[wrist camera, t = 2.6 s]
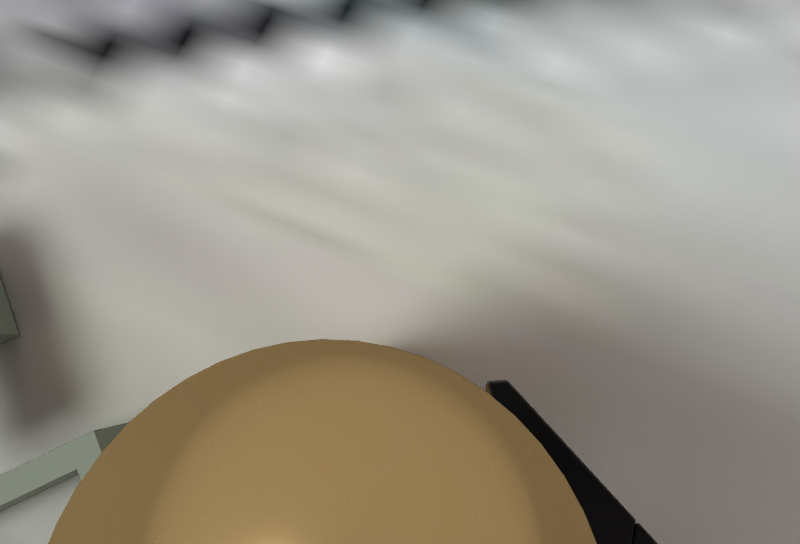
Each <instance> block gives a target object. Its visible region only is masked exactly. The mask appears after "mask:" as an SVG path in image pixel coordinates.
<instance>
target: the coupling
mask: <svg viewBox="0 0 800 544" xmlns="http://www.w3.org/2000/svg"><path fill="white" fill-rule="evenodd" d="M48 544H597V543H596V540H595V538H594V535H593V533H592V531H591V528H590V526H589V523H588V521H587V518H586V516H585V513H584V511H583V509H582V507H581V505H580V504H579V502H578V500H577V498H576V496H575V495H574V493H573V491H572V489H571V487H570V485H569V484H568V482H567V480H566V478H565V476H564V475H563V474H562V472H561V471H560V469H559V468H558V467H557V465H556V464H555V462H554V461H553V460H552V458H551V457H550V455H549V454H548V453H547V451H546V450H545V448H544V447H543V446H542V444H541V443H540V442H539V441H538V440H537V439H536V438H535V437H534V436H533V435H532V434H531V432H530V431H529V430H528V429H527V428H526V427H525V426H524V425H523V424H522V423H521V422H520V421H519V419H518V418H517V417H516V416H515V415H513V414H512V413H511V412H510V411H509V410H507V409H506V408H505V407H504V406H503V405H502V404H500V403H499V402H498V401H497V400H496V399H494V398H493V397H492V396H491V395H490V394H488V393H487V392H486V391H484V390H483V389H481V388H479V387H478V386H476V385H475V384H473V383H472V382H470V381H469V380H467V379H465V378H464V377H462V376H461V375H459V374H458V373H456V372H454V371H452V370H450V369H447V368H445V367H443V366H441V365H439V364H437V363H435V362H433V361H431V360H428V359H426V358H424V357H421V356H418V355H415V354H411V353H408V352H405V351H402V350H399V349H396V348H393V347H388V346H383V345H377V344H372V343H366V342H360V341H349V340H326V339H320V340H309V341H297V342H287V343H282V344H278V345H273V346H269V347H264V348H259V349H255V350H251V351H249V352H246V353H243V354H240V355H238V356H235V357H232V358H229V359H226V360H224V361H221V362H218V363H216V364H215V365H213V366H211V367H209V368H207V369H205V370H203V371H201V372H199V373H197V374H195V375H193V376H191V377H189V378H187V379H186V380H184V381H183V382H181V383H180V384H178V385H177V386H175V387H174V388H172V389H171V390H169V391H168V392H166V393H165V394H163V395H162V396H160V397H159V398H157V399H156V400H155V401H154V402H152V403H151V404H150V405H149V406H148V407H147V408H146V409H144V410H143V411H142V412H141V413H140V414H139V415H138V416H136V417H135V418H134V419H133V420H132V421H131V422H129V423H128V424H127V425H126V426H125V427H124V429H123V430H122V431H121V432H120V433H119V434H118V435H117V436H116V437H115V438H114V440H113V441H112V442H111V443H110V444H109V445H108V446H107V447H106V448H105V449H104V451H103V452H102V453H101V454H100V455H99V457H98V458H97V459H96V461H95V462H94V464H93V465H92V466H91V468H90V469H89V471H88V472H87V473H86V475H85V476H84V478H83V479H82V480H81V482H80V483H79V485H78V486H77V488H76V489H75V491H74V493H73V495H72V497H71V498H70V500H69V502H68V504H67V506H66V507H65V509H64V511H63V513H62V515H61V516H60V518H59V520H58V522H57V524H56V526H55V529H54V531H53V534H52V536H51V538H50V541H49V543H48Z"/></svg>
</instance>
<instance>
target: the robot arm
mask: <svg viewBox="0 0 800 544" xmlns="http://www.w3.org/2000/svg"><path fill="white" fill-rule="evenodd" d="M486 392H487V393H488V394H490V395H491V396H492V397H493V398H494V399H496V400H497V401H498V402H499V403H500V404H502V405H503V406H504V407H505V408H506V409H507V410H509V411H510V412H511V413H512V414H513V415H515V416H516V417H517V418H518V419H519V421H520V422H521V423H522V424H523V425H524V426H525V427H526V428H527V429H528V430H529V431H530V432H531V434H532V435H533V436H534V437H535V438H536V439H537V440H538V441H539V442H540V443H541V444H542V446H543V447H544V448H545V450H546V451H547V453H548V454H549V455H550V457H551V458H552V460H553V461H554V462H555V464H556V465H557V467H558V468H559V469H560V471H561V472H562V474H563V475H564V476H565V478H566V480H567V482H568V484H569V485H570V487H571V489H572V491H573V493H574V495H575V496H576V498H577V500H578V502H579V504H580V505H581V507H582V509H583V511H584V513H585V516H586V518H587V521H588V523H589V526H590V528H591V531H592V533H593V535H594V538H595V540H596V543H597V544H658V543H657V542H656V541H655V540H654V539H653V538H652V537H651V536H650V535H649V534H648V532H647V531H646V530H645V529H644V528H643V527H642V526H641V525H640V524H639V523H636V520H635V519H634V517H633V516H632V515H631V514H630V513H629V512H628V511H627V510H626V509H625V508H624V507H623V505H622V504H621V503H620V502H619V501H618V500H617V499H616V498H615V497H614V496H613V495H612V494H611V492H610V491H609V490H608V489H607V488H606V487H605V486H604V485H603V484H602V483H601V482H600V480H599V479H598V478H597V477H596V476H595V475H594V474H593V473H592V472H591V471H590V470H589V469H588V467H587V466H586V465H585V464H584V463H583V462H582V461H581V460H580V459H579V458H578V457H577V455H576V454H575V453H574V452H573V451H572V450H571V449H570V448H569V447H568V446H567V445H566V444H565V442H564V441H563V440H562V439H561V438H560V437H559V436H558V435H557V434H556V433H555V432H554V431H553V429H552V428H551V427H550V426H549V425H548V424H547V423H546V422H545V421H544V420H543V419H542V417H541V416H540V415H539V414H538V413H537V412H536V411H535V410H534V409H533V408H532V407H531V406H530V404H529V403H528V402H527V401H526V400H525V399H524V398H523V397H522V396H521V395H520V394H519V392H518V391H517V390H516V389H515V388H514V387H513V386H512V385H511V384H510V383H509V382H508V381H506V380H496V381H489V382H487V384H486ZM635 523H636V524H635Z"/></svg>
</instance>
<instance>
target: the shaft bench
mask: <svg viewBox="0 0 800 544" xmlns="http://www.w3.org/2000/svg"><path fill="white" fill-rule="evenodd" d="M18 335H19V332H18V329H17V326H16V323H15V320H14V317H13V314H12V311H11V308H10V305H9V301H8V298H7V295H6V292H5V289H4V286H3V283H2V280H1V277H0V343H3V342H5V341H7V340H9V339H11V338H14V337H16V336H18ZM127 424H128V423H125V424H121V425H116V426H112V427H108V428H104V429H99V430H95V431H92V432H90V433H88V434H86V435H84V436H82V437H80V438H78V439H76V440H73V441H71V442H69V443H67V444H65V445H63V446H61V447H59V448H57V449H55V450H52V451H50V452H48V453H46V454H44V455H42V456H40V457H38V458H36V459H34V460H31V461H29V462H27V463H25V464H23V465H21V466H19V467H17V468H15V469H13V470H10V471H8V472H6V473H4V474H2V475H0V511H2V510H4V509H7V508H9V507H11V506H13V505H15V504H17V503H19V502H21V501H23V500H25V499H27V498H29V497H31V496H34V495H36V494H38V493H40V492H42V491H44V490H46V489H48V488H50V487H52V486H54V485H56V484H58V483H61V482H63V481H65V480H67V479H69V478H71V477H73V476H75V475H77V474H79V477H80V480H82V479H83V478H84V476H85V475H86V473H87V472H88V471H89V469H90V468H91V466H92V465H93V464H94V462H95V461H96V459H97V458H98V457H99V455H100V454H101V453H102V452H103V451H104V449H105V448H106V447H107V446H108V445H109V444H110V443H111V442H112V441H113V440H114V438H115V437H116V436H117V435H118V434H119V433H120V432H121V431H122V430H123V429H124V427H125V426H126V425H127Z"/></svg>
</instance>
